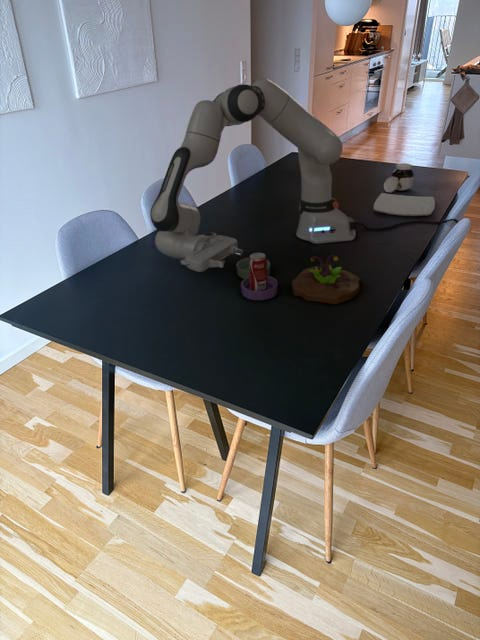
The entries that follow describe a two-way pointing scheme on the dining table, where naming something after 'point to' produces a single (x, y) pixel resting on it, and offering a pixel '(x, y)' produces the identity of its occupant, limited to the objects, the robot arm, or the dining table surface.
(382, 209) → the plate
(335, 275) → the plant
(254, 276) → the soda can
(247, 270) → the green bowl
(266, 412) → the dining table surface
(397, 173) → the spread jar
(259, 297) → the lavender bowl
